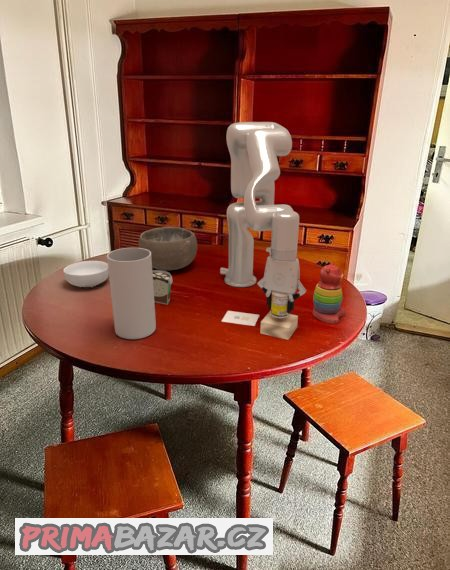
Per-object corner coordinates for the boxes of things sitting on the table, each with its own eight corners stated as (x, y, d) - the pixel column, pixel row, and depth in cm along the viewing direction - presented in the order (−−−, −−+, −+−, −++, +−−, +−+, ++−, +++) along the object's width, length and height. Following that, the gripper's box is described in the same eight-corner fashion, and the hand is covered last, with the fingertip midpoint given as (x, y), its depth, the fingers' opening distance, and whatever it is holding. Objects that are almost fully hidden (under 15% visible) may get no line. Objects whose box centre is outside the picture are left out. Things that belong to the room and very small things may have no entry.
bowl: (156, 255, 200) (154, 223, 194) (205, 261, 193) (205, 228, 187) (130, 273, 179) (127, 238, 173) (184, 280, 172) (183, 244, 166)
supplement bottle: (277, 309, 136) (279, 279, 132) (292, 314, 133) (294, 284, 129) (267, 315, 133) (268, 284, 128) (282, 320, 129) (284, 289, 125)
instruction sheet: (221, 321, 140) (221, 321, 140) (227, 311, 147) (227, 310, 147) (254, 326, 137) (254, 325, 137) (259, 315, 144) (259, 314, 144)
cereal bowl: (116, 277, 175) (115, 260, 172) (101, 293, 160) (99, 276, 157) (76, 275, 176) (74, 259, 174) (58, 291, 161) (55, 274, 158)
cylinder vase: (134, 317, 142) (127, 245, 132) (164, 327, 136) (159, 252, 127) (106, 333, 132) (97, 256, 122) (137, 344, 126) (131, 264, 117)
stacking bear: (336, 325, 138) (342, 273, 131) (306, 317, 143) (311, 267, 136) (346, 312, 146) (353, 263, 139) (318, 305, 151) (323, 257, 144)
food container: (180, 298, 156) (179, 273, 152) (171, 305, 151) (169, 279, 147) (151, 292, 161) (149, 267, 157) (141, 299, 155) (139, 273, 152)
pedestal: (260, 333, 133) (260, 321, 131) (270, 321, 140) (271, 310, 139) (288, 339, 129) (289, 328, 128) (297, 327, 137) (298, 315, 135)
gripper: (251, 253, 125) (249, 308, 132) (308, 262, 118) (303, 320, 126) (260, 245, 132) (258, 299, 139) (316, 254, 125) (310, 310, 132)
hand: (280, 308), depth 132 cm, fingers closed on supplement bottle, 5 cm apart
